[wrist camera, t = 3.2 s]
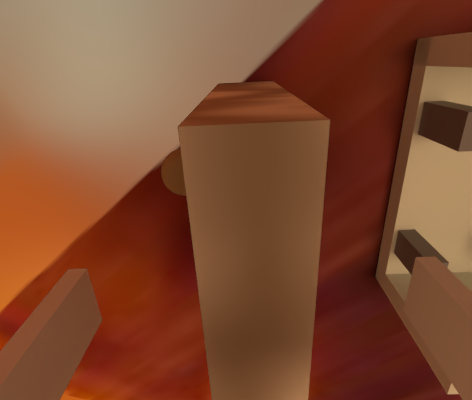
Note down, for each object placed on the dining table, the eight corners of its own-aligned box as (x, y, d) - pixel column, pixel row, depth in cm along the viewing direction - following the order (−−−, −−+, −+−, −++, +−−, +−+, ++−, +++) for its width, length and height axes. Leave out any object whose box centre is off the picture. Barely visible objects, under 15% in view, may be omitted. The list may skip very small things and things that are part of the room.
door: (272, 81, 20) (330, 119, 7) (272, 260, 26) (303, 459, 13) (192, 85, 20) (105, 129, 7) (210, 262, 26) (179, 460, 13)
